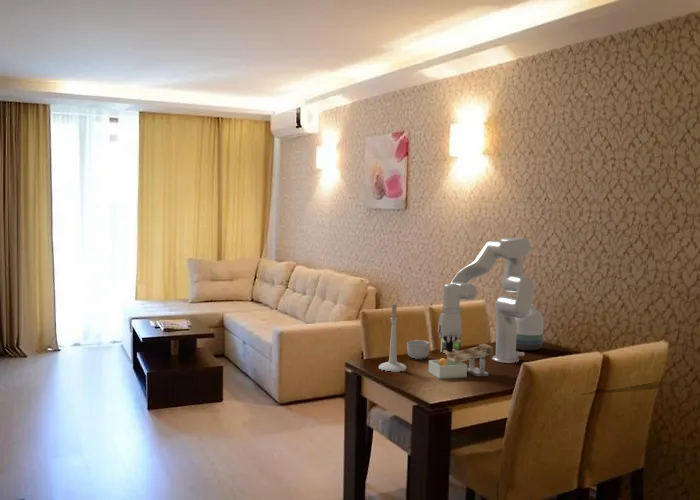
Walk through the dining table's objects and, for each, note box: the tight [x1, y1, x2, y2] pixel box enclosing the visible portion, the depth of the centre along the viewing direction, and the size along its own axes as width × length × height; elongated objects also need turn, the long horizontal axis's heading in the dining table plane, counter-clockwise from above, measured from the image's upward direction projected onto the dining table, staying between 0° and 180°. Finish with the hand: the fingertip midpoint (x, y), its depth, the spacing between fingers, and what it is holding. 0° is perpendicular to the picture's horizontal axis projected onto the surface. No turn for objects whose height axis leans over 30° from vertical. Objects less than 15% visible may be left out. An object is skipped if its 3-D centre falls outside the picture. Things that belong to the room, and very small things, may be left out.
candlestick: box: [378, 303, 408, 373], centre depth 267 cm, size 13×13×30 cm
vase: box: [515, 303, 544, 352], centre depth 314 cm, size 17×17×24 cm
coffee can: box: [440, 336, 462, 353], centre depth 302 cm, size 10×10×14 cm
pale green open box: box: [428, 358, 468, 380], centre depth 259 cm, size 13×11×6 cm
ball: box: [438, 357, 447, 366], centre depth 258 cm, size 4×4×4 cm
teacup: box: [406, 339, 430, 360], centre depth 290 cm, size 14×11×8 cm
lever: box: [442, 343, 494, 363], centre depth 265 cm, size 19×15×4 cm
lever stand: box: [467, 355, 490, 377], centre depth 263 cm, size 6×11×9 cm, turn 17°
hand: (449, 350), depth 269 cm, fingers closed
